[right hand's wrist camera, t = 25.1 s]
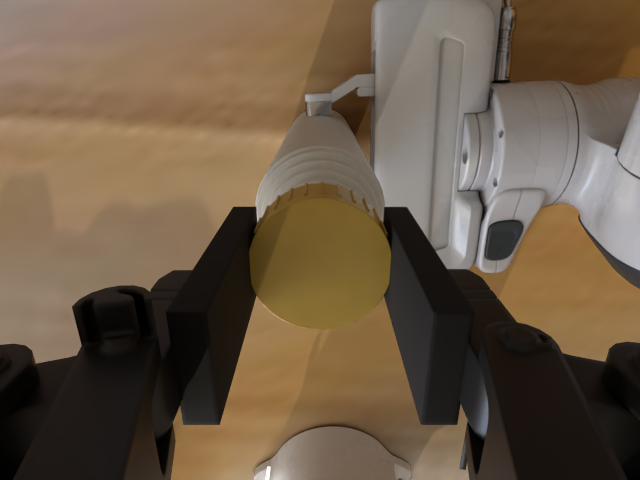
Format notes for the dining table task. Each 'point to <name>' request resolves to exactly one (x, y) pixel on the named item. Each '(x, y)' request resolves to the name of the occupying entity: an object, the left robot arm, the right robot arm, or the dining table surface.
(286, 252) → the cap
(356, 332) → the dining table surface
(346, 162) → the bottle
